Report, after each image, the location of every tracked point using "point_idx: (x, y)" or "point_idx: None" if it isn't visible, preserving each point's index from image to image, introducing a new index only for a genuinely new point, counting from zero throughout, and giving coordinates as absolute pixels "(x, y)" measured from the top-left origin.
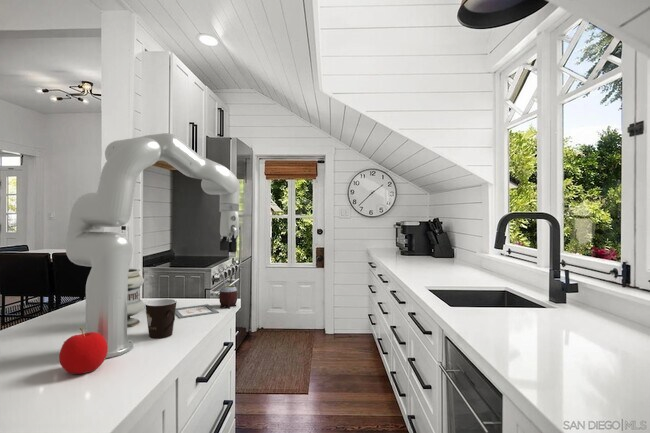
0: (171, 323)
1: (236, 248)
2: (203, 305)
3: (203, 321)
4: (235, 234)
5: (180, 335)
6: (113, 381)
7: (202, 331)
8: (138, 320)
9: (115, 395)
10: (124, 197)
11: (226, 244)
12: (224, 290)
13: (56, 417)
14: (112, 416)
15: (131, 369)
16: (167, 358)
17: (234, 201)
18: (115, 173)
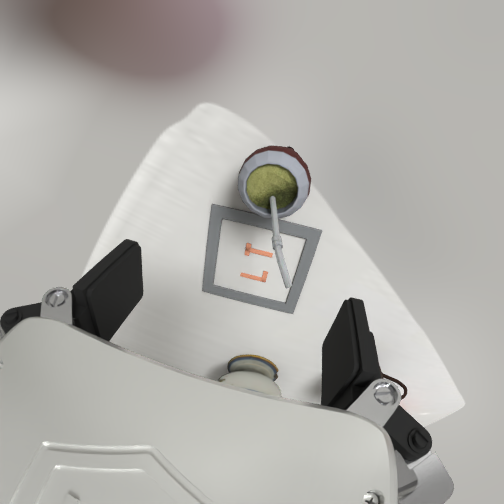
0: (398, 382)
1: (366, 319)
2: (219, 222)
3: (357, 293)
4: (427, 471)
5: (388, 348)
6: (424, 405)
7: (405, 321)
8: (259, 360)
9: (442, 405)
10: None
11: (113, 285)
12: (288, 215)
13: (430, 421)
14: (459, 406)
15: (419, 396)
16: (433, 376)
17: None
18: None
